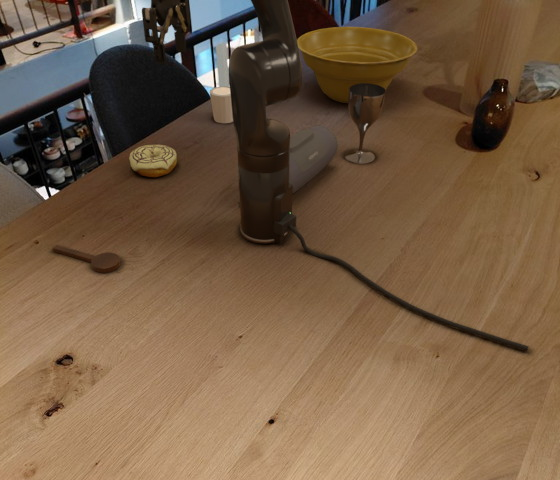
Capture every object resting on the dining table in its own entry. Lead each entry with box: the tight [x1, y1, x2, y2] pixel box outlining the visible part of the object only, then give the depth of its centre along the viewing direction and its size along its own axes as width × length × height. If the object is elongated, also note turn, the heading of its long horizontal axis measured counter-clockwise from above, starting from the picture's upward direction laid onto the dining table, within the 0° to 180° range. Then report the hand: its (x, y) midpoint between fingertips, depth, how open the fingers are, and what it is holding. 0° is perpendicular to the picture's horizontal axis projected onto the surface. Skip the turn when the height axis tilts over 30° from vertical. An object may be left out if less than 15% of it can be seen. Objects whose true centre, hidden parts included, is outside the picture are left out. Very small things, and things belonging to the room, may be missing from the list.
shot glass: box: [209, 86, 233, 124], centre depth 146 cm, size 7×7×7 cm
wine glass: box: [344, 83, 387, 164], centre depth 129 cm, size 8×8×15 cm
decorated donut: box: [128, 143, 178, 178], centre depth 128 cm, size 10×11×4 cm
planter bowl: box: [297, 26, 418, 104], centre depth 157 cm, size 32×32×13 cm
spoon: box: [52, 244, 121, 274], centre depth 104 cm, size 14×5×1 cm, turn 67°
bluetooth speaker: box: [289, 124, 339, 194], centre depth 122 cm, size 23×9×10 cm, turn 149°
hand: (171, 57), depth 122 cm, fingers open, 8 cm apart
